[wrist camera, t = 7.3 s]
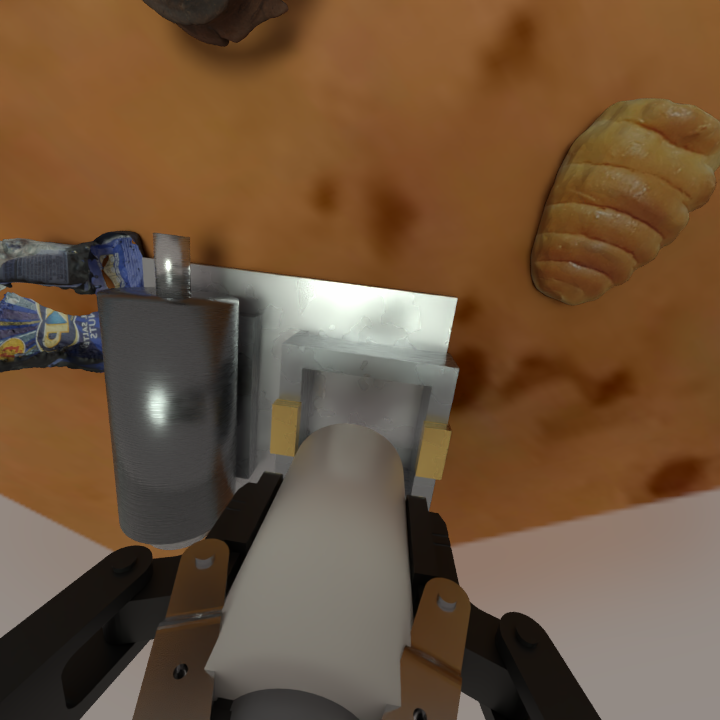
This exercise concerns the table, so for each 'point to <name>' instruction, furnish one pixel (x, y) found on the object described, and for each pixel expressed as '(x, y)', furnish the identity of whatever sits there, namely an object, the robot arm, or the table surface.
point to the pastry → (623, 196)
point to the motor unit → (260, 382)
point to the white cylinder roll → (322, 589)
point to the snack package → (65, 270)
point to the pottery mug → (218, 17)
